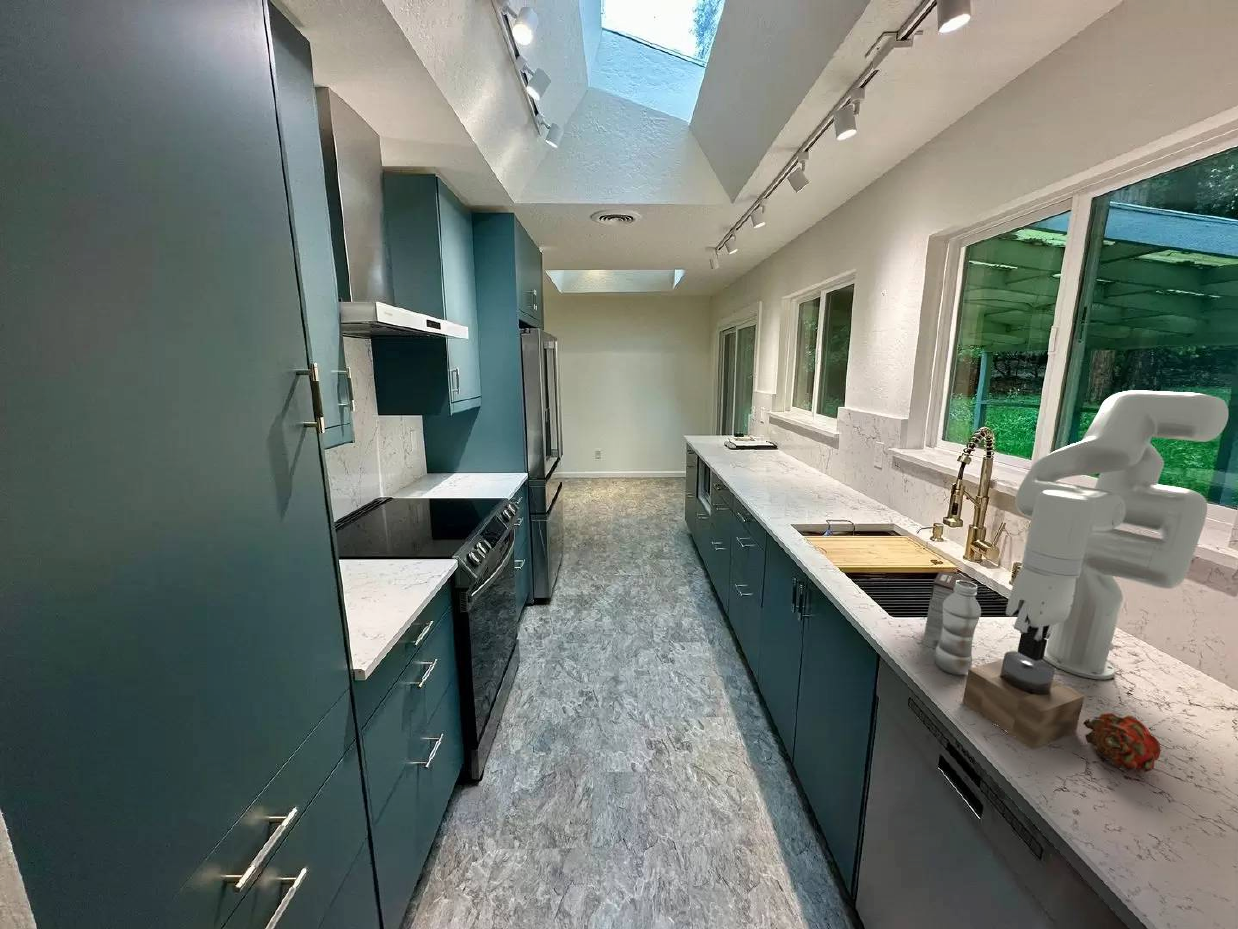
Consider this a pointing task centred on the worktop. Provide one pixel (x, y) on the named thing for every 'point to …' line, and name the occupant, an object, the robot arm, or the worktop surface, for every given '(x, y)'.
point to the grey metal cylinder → (1027, 673)
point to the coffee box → (939, 606)
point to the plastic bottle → (958, 629)
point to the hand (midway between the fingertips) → (1029, 655)
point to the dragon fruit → (1123, 742)
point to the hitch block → (1022, 706)
